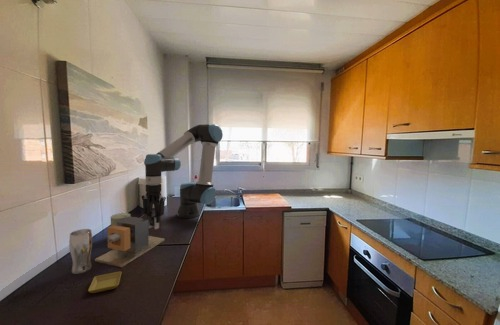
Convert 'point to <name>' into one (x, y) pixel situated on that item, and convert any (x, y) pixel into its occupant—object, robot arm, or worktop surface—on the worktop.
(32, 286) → the worktop surface
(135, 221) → the block
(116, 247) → the strip
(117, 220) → the can
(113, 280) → the saucer
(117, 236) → the shaft
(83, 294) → the worktop surface
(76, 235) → the beer glass
